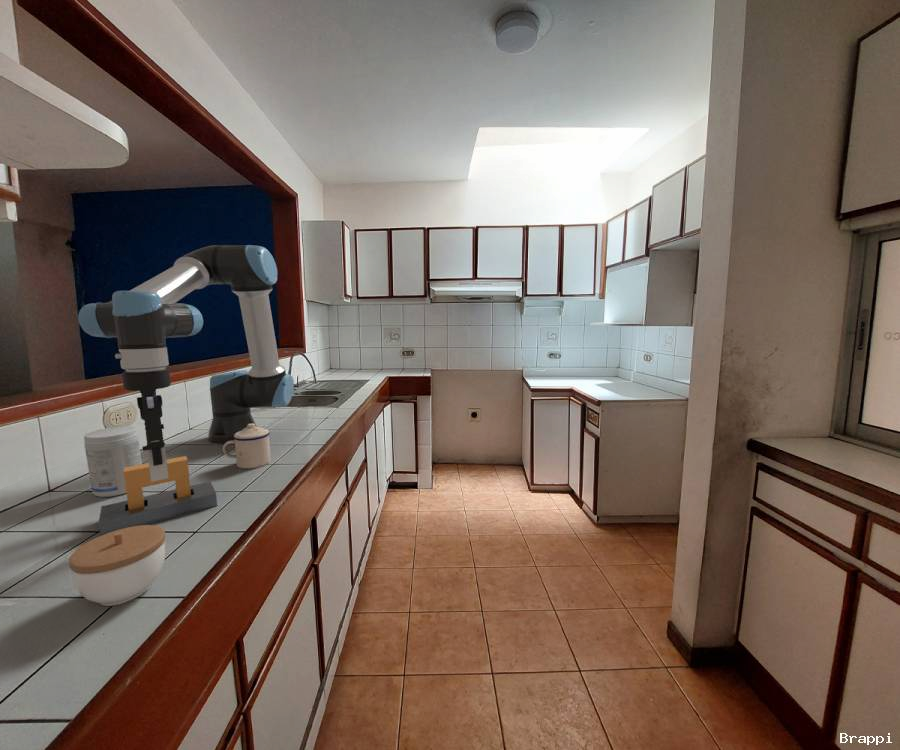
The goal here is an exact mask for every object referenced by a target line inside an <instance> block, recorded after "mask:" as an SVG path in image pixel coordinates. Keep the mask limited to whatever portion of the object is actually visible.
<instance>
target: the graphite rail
mask: <svg viewBox="0 0 900 750" xmlns="http://www.w3.org/2000/svg"><path fill="white" fill-rule="evenodd" d="M190 490H191V495H190V496H186V497H182V498H178V499H177V493H176V488H175V489H172V490H167V491H166V490H165V491H163V492H159V493H154V494H150V495H145V496H144V495H143V499H144V507H141V508H137V509H133V510H129V508H128V501H127V500H124V501H119V502H115V503H111V504H107V505H102V506H101V507H100V513H99V518H98V528H99V535H100V536H102V535H105V534H107V533H110V532H113V531H116V530H120V529H124V528H128V527H133V526H140V525H152V524H154V523H158V522H163V521H166V520H169V519H173V518H176V517H180V516H185V515H188V514H192V513H195V512H199V511H203V510H206V509H211V508H214V507H217V506H218V501H217V499H218V498H217V491H216V490H215V488H214V486H213V484H212V481H211V480H209V481H206V482H202V483H201V482H200V483H198V484H193V485H190ZM100 536H99V537H100Z"/></svg>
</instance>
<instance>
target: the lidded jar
mask: <svg viewBox="0 0 900 750" xmlns="http://www.w3.org/2000/svg"><path fill="white" fill-rule="evenodd" d="M166 547H167V546H166V531H165V529H164V528H163V527H162V526H161V527H160V526H158V525H153V524H148V525H140V526H133V527H128V528H124V529H120V530H116V531H113V532H110V533H107V534H105V535H102V536H98V537H95V538H93V539H91V540H89V541H88V542H85V543H84V544H82V545H81V546H79V547H78V548H77V549H76V550H74V551H73V552H72V554H71V555H70V557H69V559H68V566H69V568H70V571H71V575H72V580H73V582H74V585H75V587H76V589H77V591H78V592H79V594H80V595H81V596H82V597H83V598H85V599H86V600H88V601H90V602H92V603H97V604H100V605H101V606H104V607H113V606H118V605H123V604H125V603H128V602H130V601H133V600H135V599H136V598H139V597H140V596H141V595H143V594H144V593H146V592H147V591H148V590H149V589H150V587H151V586H152V584H153V583H154V582H155V580H156V579H157V578H158V576H159V575H160V574H161V572H162V570H163V566H164V565H165V560H166V552H167V551H166V549H167V548H166Z"/></svg>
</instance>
